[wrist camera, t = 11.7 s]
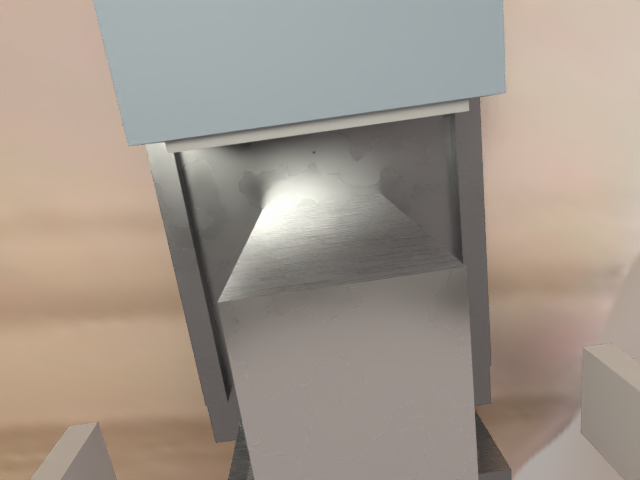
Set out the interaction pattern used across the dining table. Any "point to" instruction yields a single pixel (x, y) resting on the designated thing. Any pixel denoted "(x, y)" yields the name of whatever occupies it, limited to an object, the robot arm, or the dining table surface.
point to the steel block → (351, 346)
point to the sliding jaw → (294, 65)
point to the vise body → (312, 187)
